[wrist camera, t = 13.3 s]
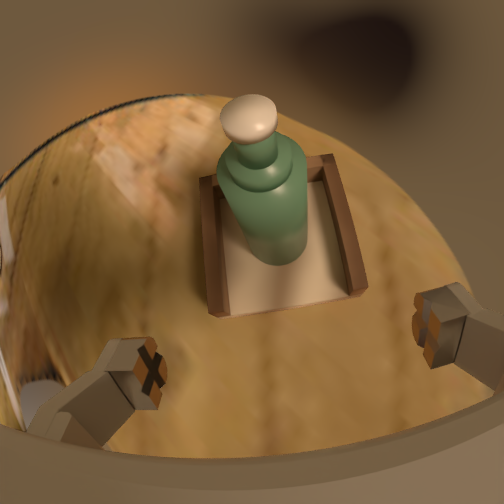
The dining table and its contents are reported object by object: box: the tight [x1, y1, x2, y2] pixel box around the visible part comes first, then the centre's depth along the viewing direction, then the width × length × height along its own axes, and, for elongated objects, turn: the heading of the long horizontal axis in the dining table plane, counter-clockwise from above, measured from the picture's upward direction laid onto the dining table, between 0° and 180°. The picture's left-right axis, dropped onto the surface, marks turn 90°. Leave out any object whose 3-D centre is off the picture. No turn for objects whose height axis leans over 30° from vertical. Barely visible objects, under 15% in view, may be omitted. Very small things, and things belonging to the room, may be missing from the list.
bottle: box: [217, 94, 308, 266], centre depth 20 cm, size 5×5×15 cm
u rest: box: [199, 153, 368, 319], centre depth 27 cm, size 12×12×4 cm
